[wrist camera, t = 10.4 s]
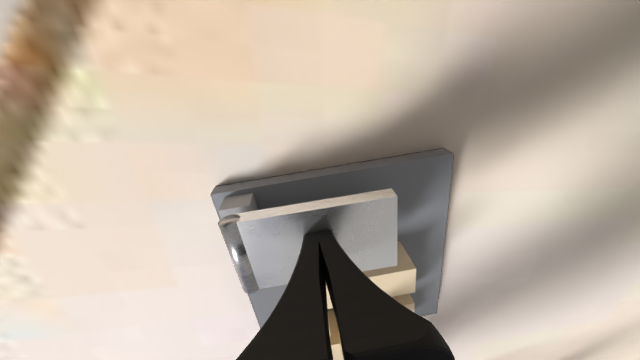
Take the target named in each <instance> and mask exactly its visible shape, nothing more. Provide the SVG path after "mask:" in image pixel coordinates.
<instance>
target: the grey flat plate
mask: <svg viewBox="0 0 640 360" xmlns="http://www.w3.org/2000/svg"><path fill="white" fill-rule="evenodd" d="M397 199H398V196H397V195H396V194H395V192H394V191H393V190H392V188H390V189H384V190H378V191H372V192H366V193H360V194H354V195H348V196H341V197H335V198H329V199H323V200H317V201H311V202H305V203H299V204H293V205H286V206H280V207H274V208H268V209H262V210H256V211H250V212H244V213H237V214H231V215H228V216H225V217H223V218H222V219H221V220H220V221H219V222H218V225H219V227H220V230H221V233H222V235H223V238H224V241H225V243H226V246H227V248H228V251H229V254H230V256H231V259H232V261H233V264H234V267H235V269H236V272H237V274H238V277H239V280H240V282H241V285H242V288H243V290H244V292H245V293H248V294H251V293H254V292H256V291H258V290H259V289H263V288H269V287H275V286H280V285H286V284H288V282H289V280H290V278H291V275H292V273H293V271H294V268H295V266H296V263H297V260H298V257H299V254H300V250H301V247H302V242H303V236H304V235H305V234H306V233H312V232H317V231H323V230H329V229H330V230H331V231H332V233H333V235H334V237H335V238H336V240H337V242H338V243H339V245H340V246H341V247H342V249H343V250H344V251H345V253H346V254H347V255H348V257H349V258H350V259H351V260H352V261H353V262H354V264H355V265H356V266H357V267H358V268H359V269H360V270H361V271H368V270H374V269H380V268H386V267H392V266H397Z"/></svg>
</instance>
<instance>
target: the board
mask: <svg viewBox="0 0 640 360" xmlns="http://www.w3.org/2000/svg"><path fill="white" fill-rule="evenodd" d="M453 159H454V153H452V152H450V151H449V150H447V149H445V148H442V149H436V150H430V151H424V152H418V153H413V154H407V155H401V156H395V157H389V158H383V159H377V160H371V161H365V162H359V163H353V164H347V165H341V166H335V167H329V168H323V169H317V170H311V171H305V172H299V173H293V174H287V175H282V176H276V177H270V178H264V179H258V180H252V181H246V182H240V183H234V184H228V185H222V186H216V187H215V188H214V189H213V191H212V193H211V198H212V200H213V203H214V206H215V208H216V211H217V214H218V216H219V219H220V220H221V219H222V218H223V217H225V216H228V215H231V214H237V213H244V212H250V211H256V210H262V209H268V208H274V207H280V206H286V205H293V204H299V203H305V202H311V201H317V200H323V199H329V198H335V197H341V196H348V195H354V194H360V193H366V192H372V191H378V190H384V189H390V188H392V190H393V191H394V192H395V194H396V195H397V196H398V199H397V266H392V267H386V268H380V269H374V270H368V271H362V272H363V273H364V274H365V275H366V276H367V277H368V278H369V279H370V280H371V281H372V282H373V283H375V284H376V285H377V286H378V287H379V288H380V289H382V290H383V291H384V292H386V293H387V294H388V295H390V296H391V297H392V298H393V299H395V300H396V301H397V302H399V303H400V304H402V305H403V306H405V307H406V308H408V309H409V310H411V311H412V312H414V313H416V314H417V315H419V316H424V315H429V314H434V313H437V306H438V297H439V288H440V279H441V269H442V260H443V251H444V242H445V233H446V223H447V214H448V205H449V196H450V186H451V177H452V168H453ZM286 287H287V284H286V285H280V286H275V287H269V288H263V289H259V290H258V291H256V292H254V293H251V294H248V296H249V299H250V301H251V304H252V307H253V309H254V312H255V315H256V317H257V320H258V323H259V325H260V328H262V326H263V325H264V323H265V322H266V321H267V319H268V318H269V316H270V315H271V313H272V312H273V310H274V308H275V307H276V305H277V303H278V301H279V300H280V298H281V296H282V294H283V292H284V291H285V289H286ZM326 293H327V308H328V323H329V334H330V341H331V348H332V354H333V360H343V356H342V350H341V345H340V339H339V334H338V328H337V323H336V318H335V314H334V310H333V307H332V303H331V299H330V296H329V292H328V288H327V284H326Z"/></svg>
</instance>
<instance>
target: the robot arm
mask: <svg viewBox="0 0 640 360" xmlns="http://www.w3.org/2000/svg"><path fill="white" fill-rule="evenodd" d="M326 284H327V288H328V292H329V296H330V299H331V303H332V307H333V310H334V314H335V318H336V322H337V326H338V330H339V335H340V340H341V346H342V351H343V357H344V360H455V358H454V356H453V354H452V352H451V350H450V348H449V346H448V345H447V343H446V342H445V340H444V339H443V337H442V336H441V335H440V333H439V332H438V331H437V329H436V328H435V327H434V325H433V324H432V323H431V322H429V321H428V320H426V319H424V318H423V317H421V316H419V315H417V314H416V313H414V312H412V311H411V310H409V309H408V308H406V307H405V306H403V305H402V304H400V303H399V302H397V301H396V300H395V299H393V298H392V297H391V296H390V295H388V294H387V293H386V292H384V291H383V290H382V289H380V288H379V287H378V286H377V285H376V284H375V283H373V282H372V281H371V280H370V279H369V278H368V277H367V276H366V275H365V274H364V273H363V272H362V271H361V270H360V269H359V268H358V267H357V266H356V265H355V264H354V262H353V261H352V260H351V259H350V258H349V257H348V255H347V254H346V253H345V251H344V250H343V249H342V247H341V246H340V245H339V243H338V242H337V240H336V238H335V237H334V235H333V233H332V231H331V230H330V229H329V230H323V231H317V232H312V233H306V234H305V235H304V236H303V242H302V247H301V250H300V254H299V257H298V260H297V263H296V266H295V268H294V271H293V273H292V275H291V278H290V280H289V282H288V284H287V287H286V289H285V291H284V292H283V294H282V296H281V298H280V300H279V301H278V303H277V305H276V307H275V308H274V310H273V312H272V313H271V315H270V316H269V318H268V319H267V321H266V322H265V323H264V325H263V326H262V328H261V329H260V330H259V332H258V333H257V335H256V336H255V337H254V339H253V340H252V341H251V342H250V343H249V345H248V346H247V347H246V348H245V350H244V351H243V352H242V353H241V354H240V356H239V357H238V358H237V359H236V360H333V354H332V348H331V341H330V334H329V323H328V308H327V293H326Z"/></svg>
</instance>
